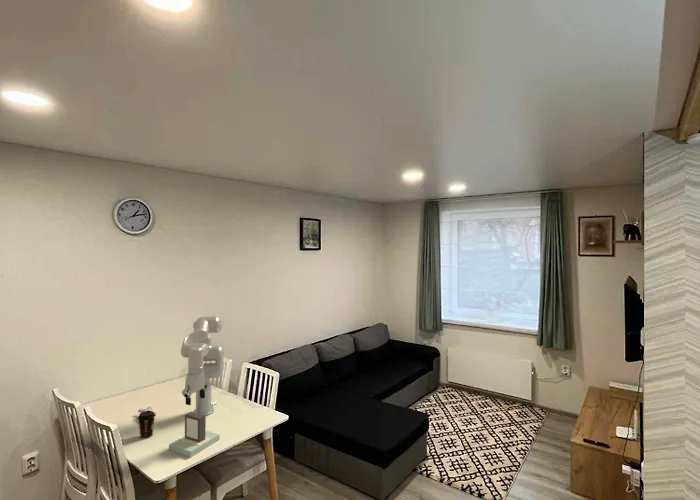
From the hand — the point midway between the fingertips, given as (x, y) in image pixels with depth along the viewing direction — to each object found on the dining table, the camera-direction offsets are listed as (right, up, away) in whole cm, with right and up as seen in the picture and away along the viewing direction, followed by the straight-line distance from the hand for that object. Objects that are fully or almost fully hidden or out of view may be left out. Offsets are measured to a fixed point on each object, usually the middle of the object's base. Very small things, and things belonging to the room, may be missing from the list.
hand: (195, 401), depth 207 cm
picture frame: (0, -20, 0) cm, 20 cm away
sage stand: (0, -24, 0) cm, 24 cm away
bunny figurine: (-43, -23, +31) cm, 58 cm away
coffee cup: (-31, -23, +9) cm, 40 cm away
